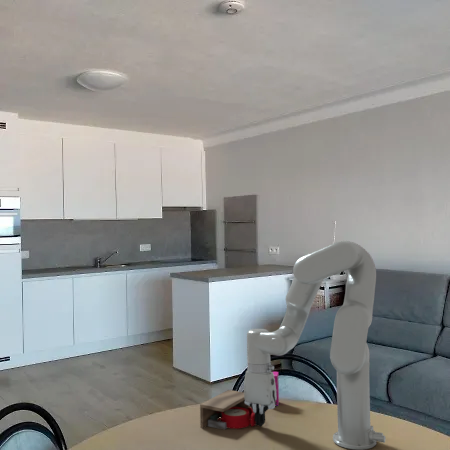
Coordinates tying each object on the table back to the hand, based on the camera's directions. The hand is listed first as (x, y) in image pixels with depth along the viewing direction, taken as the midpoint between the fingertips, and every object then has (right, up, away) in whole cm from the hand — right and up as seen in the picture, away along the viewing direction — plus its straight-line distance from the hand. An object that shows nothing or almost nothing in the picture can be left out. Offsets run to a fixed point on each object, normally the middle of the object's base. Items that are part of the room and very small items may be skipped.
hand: (260, 424), depth 157 cm
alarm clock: (-6, -2, +5) cm, 8 cm away
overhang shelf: (-11, -2, +7) cm, 13 cm away
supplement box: (+6, -2, +23) cm, 24 cm away
